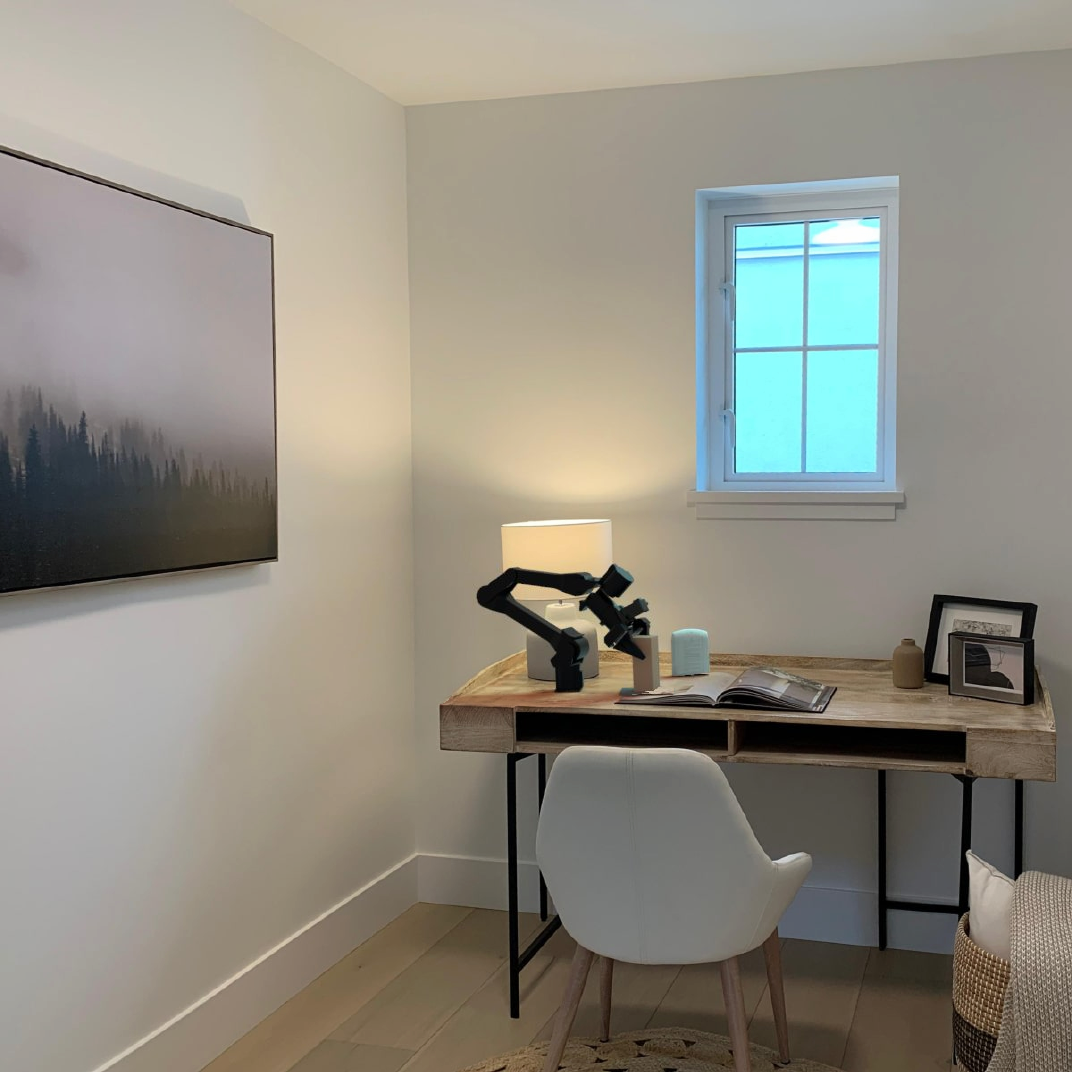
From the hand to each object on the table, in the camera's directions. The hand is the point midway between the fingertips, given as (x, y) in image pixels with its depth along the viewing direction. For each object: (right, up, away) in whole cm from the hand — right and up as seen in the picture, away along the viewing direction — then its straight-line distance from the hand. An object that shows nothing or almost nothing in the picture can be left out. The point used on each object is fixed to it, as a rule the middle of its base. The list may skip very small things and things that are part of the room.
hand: (651, 656), depth 291 cm
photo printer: (+13, -8, +27) cm, 31 cm away
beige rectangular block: (-1, -8, +1) cm, 8 cm away
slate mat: (-1, -9, +1) cm, 9 cm away
